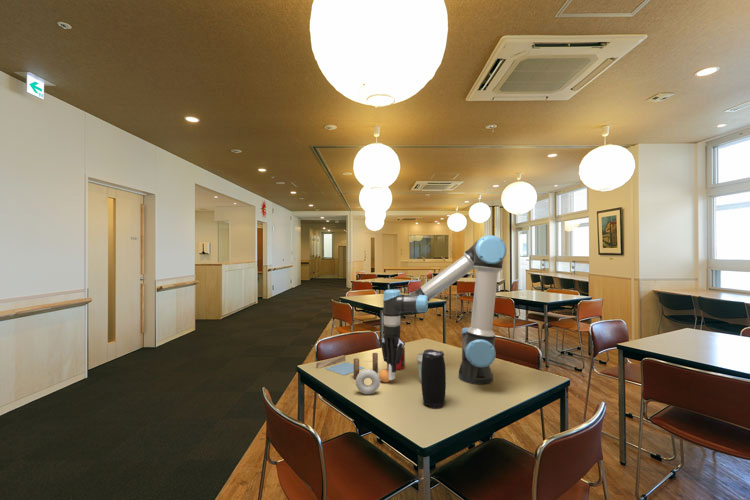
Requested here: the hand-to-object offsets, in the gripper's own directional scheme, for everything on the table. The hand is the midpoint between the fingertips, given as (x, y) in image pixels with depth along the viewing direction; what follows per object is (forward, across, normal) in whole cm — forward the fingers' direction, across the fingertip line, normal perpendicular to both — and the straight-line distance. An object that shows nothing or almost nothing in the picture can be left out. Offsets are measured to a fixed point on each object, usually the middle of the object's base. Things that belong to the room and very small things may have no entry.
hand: (391, 378), depth 144 cm
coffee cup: (+2, -10, -12) cm, 16 cm away
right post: (+2, +16, -7) cm, 18 cm away
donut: (+3, 0, +15) cm, 15 cm away
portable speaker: (+2, -25, +5) cm, 25 cm away
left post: (+3, +16, +6) cm, 18 cm away
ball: (0, +4, 0) cm, 4 cm away
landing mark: (+3, +31, -1) cm, 31 cm away
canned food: (+3, +12, -19) cm, 22 cm away
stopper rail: (+3, +42, -1) cm, 42 cm away
